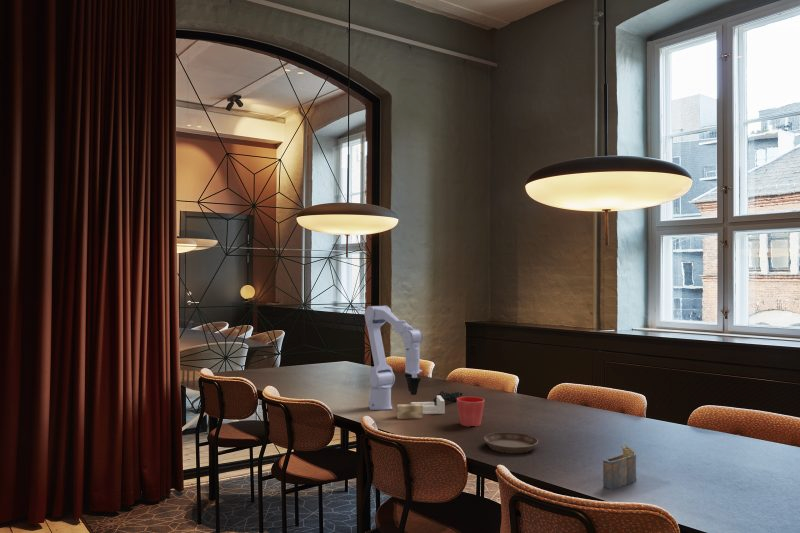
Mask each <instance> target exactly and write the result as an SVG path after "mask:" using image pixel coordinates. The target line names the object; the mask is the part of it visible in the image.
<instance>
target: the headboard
mask: <svg viewBox="0 0 800 533" xmlns="http://www.w3.org/2000/svg"><path fill="white" fill-rule="evenodd" d="M436 395H437V394H436ZM436 401H437V403H436V404H437V405H434V402H433V401H417V402H416V401H413V402H410V404H422V406H423V415H438V414H439V415H440V414H441V415H442V414H446V410H445V409H446V405H445V404H446V402H445V401H444V399H443V398H442V397H441V396H440V395H437V399H436Z"/></svg>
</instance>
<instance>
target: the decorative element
mask: <svg viewBox="0 0 800 533" xmlns="http://www.w3.org/2000/svg"><path fill="white" fill-rule="evenodd" d="M437 395H440V396H441V397H442V398H443V399H444V401H445V403H446V402H450V403H455V402H456V401H457V398H459V397H463V392H459V391H455V392H450V393H449V392H446V391H445V392H444V391H440V392H439V393H437V394H436V396H435V397H433V401H432V402H434V405H437ZM456 403H457V402H456Z"/></svg>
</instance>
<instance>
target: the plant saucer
mask: <svg viewBox="0 0 800 533" xmlns="http://www.w3.org/2000/svg"><path fill="white" fill-rule="evenodd" d="M483 439H484V442H485V443H486V445H487V446H488V447H489V448H490V449H491V450H493V451H495V450H496V452H500V453H504V452H505V454H524V452H525V453H529V452H531V451H532V450H533V449H534V448H535V447H536V446H537V445H538V443H539V440H538V439H537V438H536V437H534V436H532V435H529V434H524V433H520V432H509V431H507V432H506V431H504V432H502V431H501V432H500V431H499V432H492V433H488V434H486V435H485V436H483ZM528 451H529V452H528Z"/></svg>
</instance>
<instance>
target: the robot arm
mask: <svg viewBox="0 0 800 533" xmlns="http://www.w3.org/2000/svg"><path fill="white" fill-rule="evenodd" d="M363 315H364V319H365V323H366V324H365V325H366V328H367V331H368V332H367V333H368V338H369V343H370V349H371V354H372V361H373V365H374V366H372V368H371V369H370V371H369V374H370V375H369V383H370V384H371V386H372V387H369V400H368V406H369V410H370V411H371V410H372V411H373V410H374V411H375V410H376V411H377V410H378V411H380V410H381V411H382V410H385V411H386V410H393V406H392V400H391V398H392V387H393V385H394V384H395V381H396V376H395V373H394V372H393V367H391V366H390V365H389V364H388V363H387V359H386V354H385V348H384V343H383V338H382V334H381V333H382V332H381V327H382V326H383V325H384V324H386V322H387V323H388V324H390V325H391V326H392V327H393V330H394V332H395V333H397V335H399V336H400V337H401V338H402V341H403V347H404V349H405V350H404V351H405V355H404V356H405V363H404V364H405V370H404V377H405V380H406V383H407V389H408V392H410V395H411V396H416V395H417V393H418V389H419V385H420V381H421V380H422V377H419V374H420V373H423V369H420V360H421V359H420V358H421V357H420V352H421V351H420V347H421V346H420V343H421V342H422V341H423V333H422V331H421V330H420V329H419V328H414V327H413V326H412V325H410V324H409V323H407V320H406V319H399V318H398V317H397V316H396V315H395V314H394V313H393V312H392V308H390V307H389V306H388V305H368V306H367V307H366V309H365V311H364V313H363Z"/></svg>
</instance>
